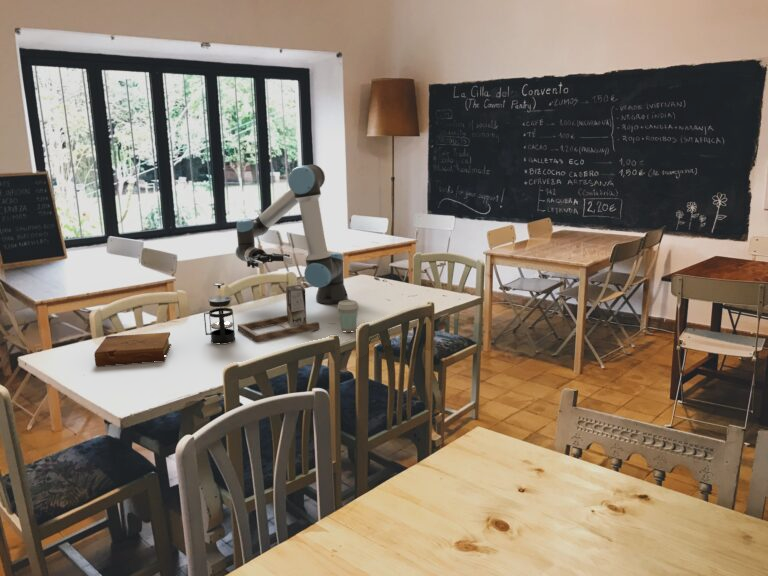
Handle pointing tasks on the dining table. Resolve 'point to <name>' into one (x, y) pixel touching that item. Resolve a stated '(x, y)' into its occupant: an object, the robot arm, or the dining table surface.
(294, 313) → the coffee box
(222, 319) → the french press
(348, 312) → the coffee cup
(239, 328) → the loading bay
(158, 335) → the brown wooden flat block
